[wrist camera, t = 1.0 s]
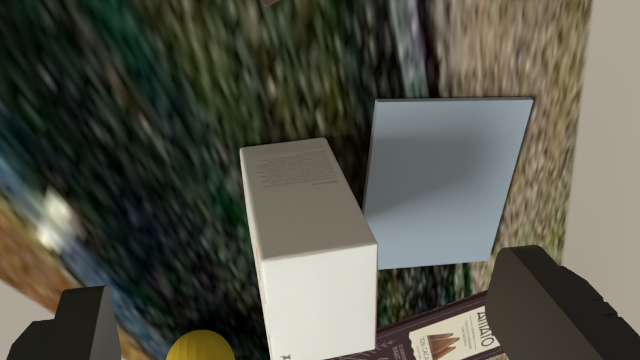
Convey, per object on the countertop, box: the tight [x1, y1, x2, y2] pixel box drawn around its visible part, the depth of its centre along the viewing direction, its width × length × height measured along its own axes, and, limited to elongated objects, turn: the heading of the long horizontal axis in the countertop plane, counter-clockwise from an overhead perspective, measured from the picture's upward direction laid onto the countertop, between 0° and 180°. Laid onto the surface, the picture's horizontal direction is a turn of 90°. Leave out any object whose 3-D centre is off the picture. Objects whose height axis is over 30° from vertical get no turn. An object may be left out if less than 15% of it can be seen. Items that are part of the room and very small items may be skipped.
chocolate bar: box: [324, 290, 505, 360], centre depth 52 cm, size 9×1×18 cm
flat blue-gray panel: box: [362, 97, 533, 269], centre depth 43 cm, size 15×12×1 cm
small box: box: [240, 137, 378, 360], centre depth 35 cm, size 8×6×13 cm
